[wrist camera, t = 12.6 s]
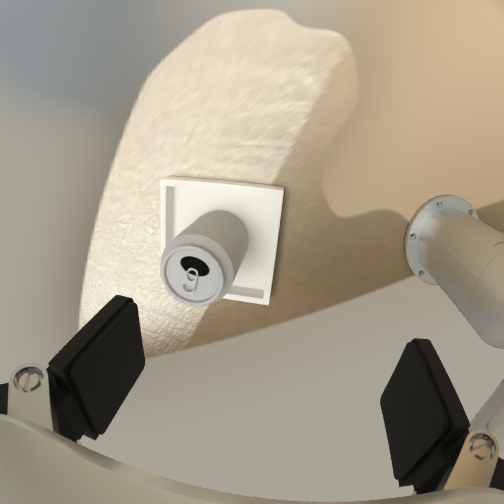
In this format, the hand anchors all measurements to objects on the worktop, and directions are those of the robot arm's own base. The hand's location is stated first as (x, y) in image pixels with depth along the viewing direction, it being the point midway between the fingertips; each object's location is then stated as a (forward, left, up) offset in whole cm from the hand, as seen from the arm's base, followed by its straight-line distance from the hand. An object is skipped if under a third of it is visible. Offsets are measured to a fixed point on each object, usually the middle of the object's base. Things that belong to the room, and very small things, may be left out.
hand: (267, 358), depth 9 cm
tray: (+8, +6, -28) cm, 30 cm away
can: (+8, +6, -28) cm, 30 cm away
